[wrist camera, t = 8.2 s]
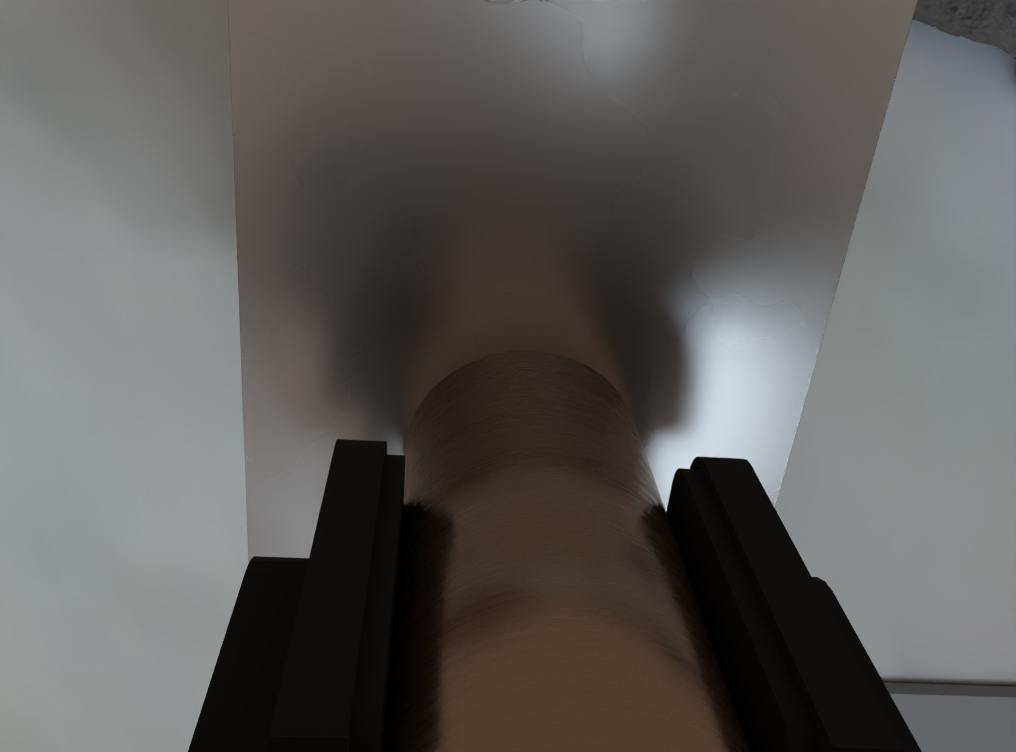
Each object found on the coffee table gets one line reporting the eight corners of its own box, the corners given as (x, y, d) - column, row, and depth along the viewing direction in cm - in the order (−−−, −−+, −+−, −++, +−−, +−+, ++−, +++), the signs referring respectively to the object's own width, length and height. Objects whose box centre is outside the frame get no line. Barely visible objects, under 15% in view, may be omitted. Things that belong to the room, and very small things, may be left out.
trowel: (923, -185, 9) (2345, -485, 2) (725, 572, 14) (1007, 1258, 7) (240, -271, 9) (-649, -1046, 2) (264, 550, 13) (42, 1280, 6)
